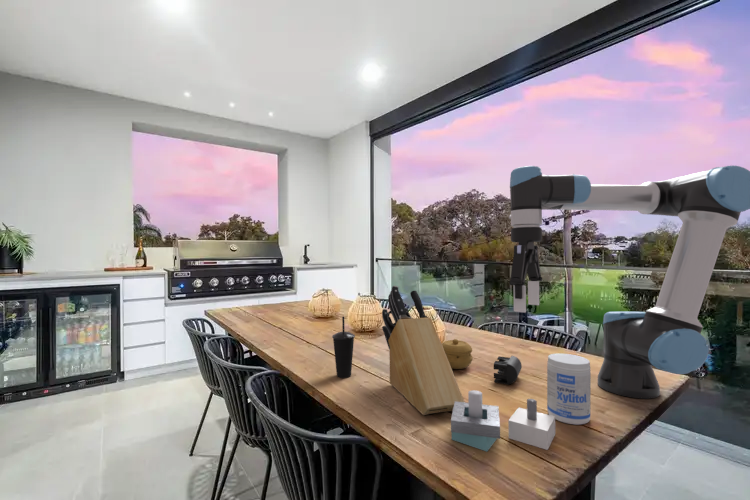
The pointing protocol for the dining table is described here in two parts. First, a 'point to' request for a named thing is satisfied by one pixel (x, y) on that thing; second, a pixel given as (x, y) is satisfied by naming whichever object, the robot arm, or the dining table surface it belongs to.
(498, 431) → the square block with hole
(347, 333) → the drinking cup
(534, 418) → the stand
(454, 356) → the pot
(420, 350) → the knife block
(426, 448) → the dining table surface
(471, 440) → the teal peg base
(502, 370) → the end cap
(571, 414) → the supplement tub
